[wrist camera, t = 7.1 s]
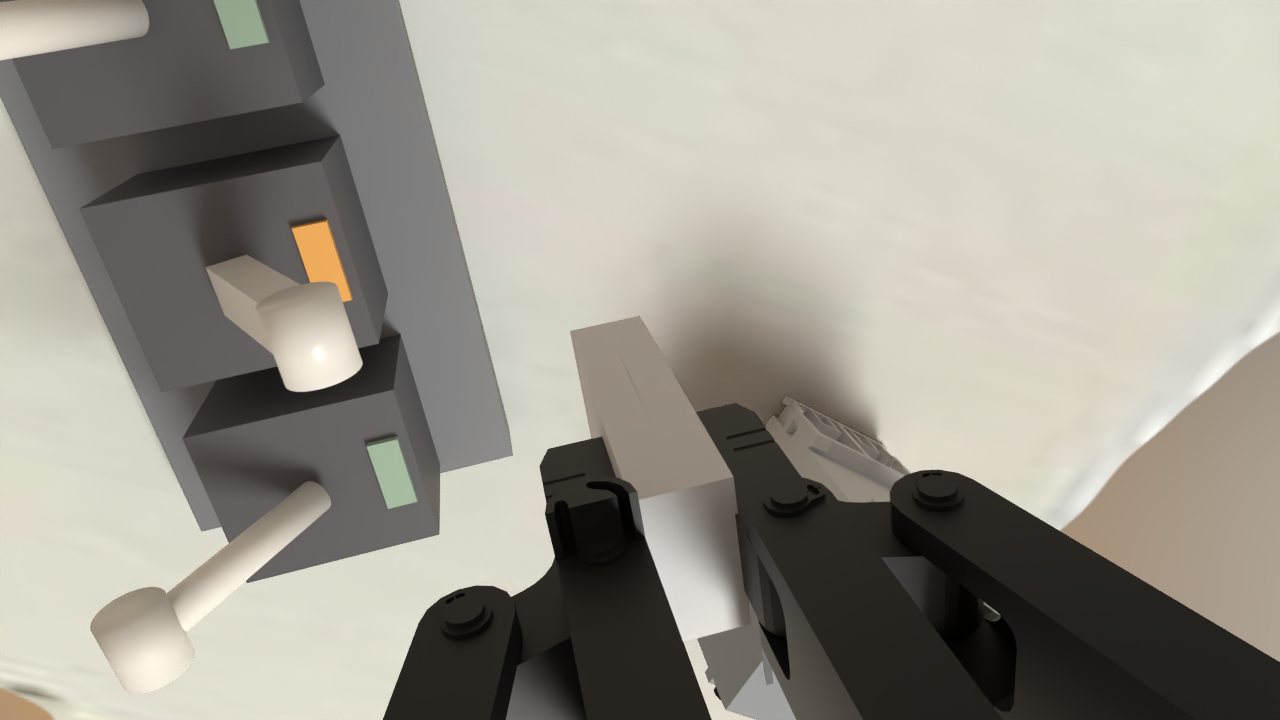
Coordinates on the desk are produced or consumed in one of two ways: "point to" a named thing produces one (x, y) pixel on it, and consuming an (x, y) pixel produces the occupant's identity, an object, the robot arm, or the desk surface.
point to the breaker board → (389, 201)
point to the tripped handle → (289, 322)
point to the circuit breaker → (851, 476)
